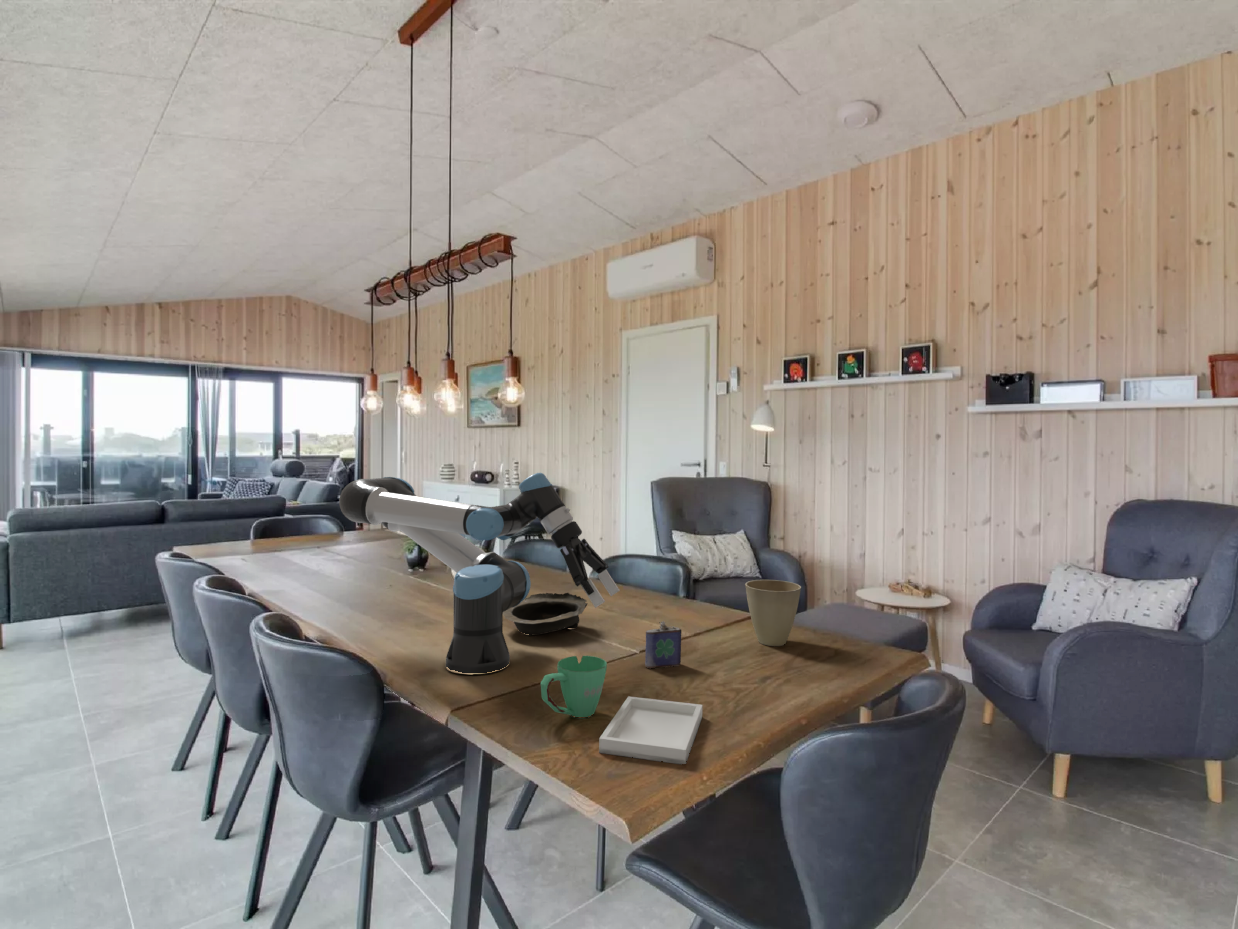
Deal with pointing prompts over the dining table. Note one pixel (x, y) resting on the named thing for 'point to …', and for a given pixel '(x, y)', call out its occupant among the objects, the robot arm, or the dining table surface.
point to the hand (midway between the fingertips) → (608, 599)
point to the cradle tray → (652, 730)
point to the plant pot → (772, 609)
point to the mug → (577, 685)
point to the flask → (663, 647)
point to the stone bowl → (546, 613)
